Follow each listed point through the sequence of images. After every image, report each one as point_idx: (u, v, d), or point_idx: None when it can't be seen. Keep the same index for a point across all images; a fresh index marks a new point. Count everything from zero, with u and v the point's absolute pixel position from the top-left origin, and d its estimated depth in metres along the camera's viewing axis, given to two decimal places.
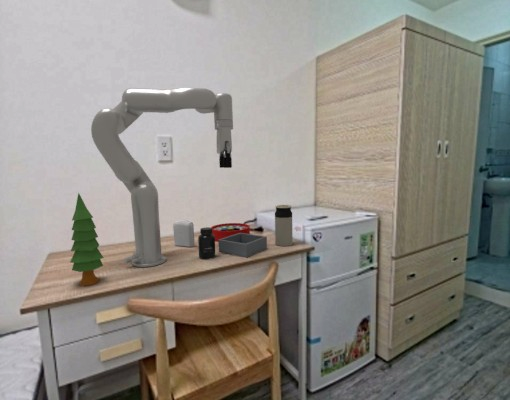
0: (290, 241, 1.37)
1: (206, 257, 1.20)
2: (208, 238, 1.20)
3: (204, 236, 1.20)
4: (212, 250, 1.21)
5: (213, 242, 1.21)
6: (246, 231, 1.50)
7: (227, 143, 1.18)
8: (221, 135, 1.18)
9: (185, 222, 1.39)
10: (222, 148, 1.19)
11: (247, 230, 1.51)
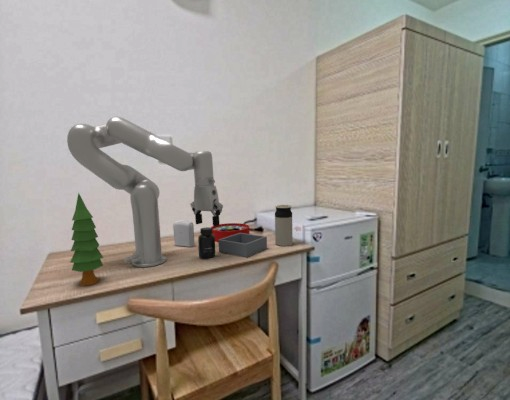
0: (290, 241, 1.37)
1: (206, 257, 1.20)
2: (208, 238, 1.20)
3: (204, 236, 1.20)
4: (212, 250, 1.21)
5: (213, 242, 1.21)
6: (246, 231, 1.50)
7: None
8: None
9: (185, 222, 1.39)
10: None
11: (247, 230, 1.50)
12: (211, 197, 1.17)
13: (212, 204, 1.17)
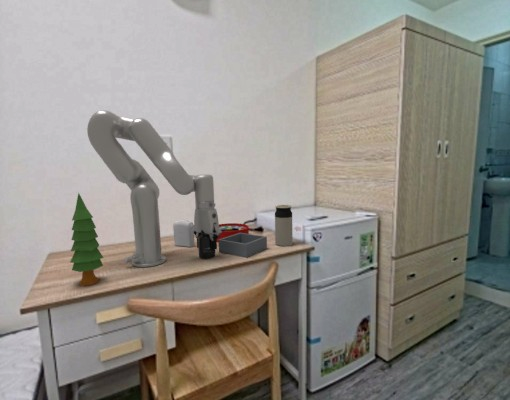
0: (290, 241, 1.37)
1: (206, 257, 1.20)
2: (208, 238, 1.20)
3: (204, 235, 1.20)
4: None
5: None
6: (245, 231, 1.49)
7: None
8: None
9: (185, 222, 1.39)
10: None
11: (246, 230, 1.50)
12: (211, 220, 1.18)
13: (212, 229, 1.18)
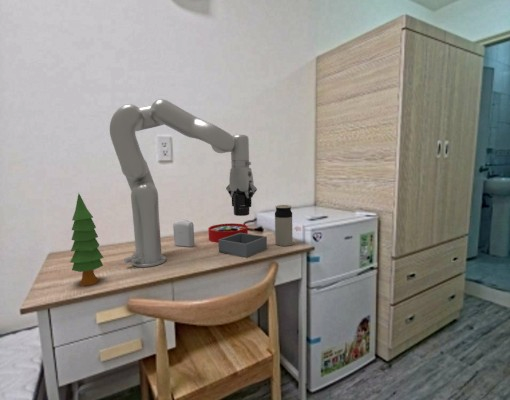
0: (290, 241, 1.37)
1: (241, 214, 1.26)
2: (244, 195, 1.26)
3: (240, 193, 1.26)
4: None
5: None
6: (244, 231, 1.49)
7: None
8: None
9: (185, 222, 1.39)
10: None
11: (245, 230, 1.50)
12: (247, 178, 1.24)
13: (248, 186, 1.24)
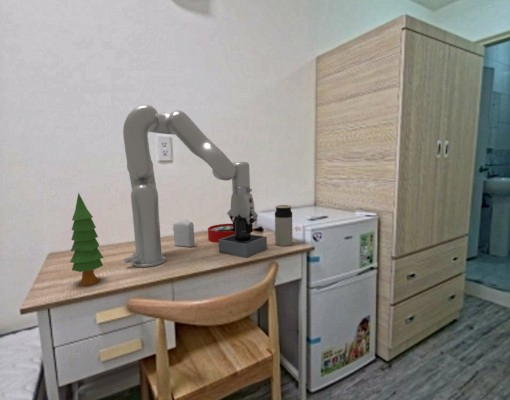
0: (290, 241, 1.37)
1: (243, 239, 1.28)
2: (245, 221, 1.27)
3: (241, 219, 1.28)
4: None
5: None
6: None
7: None
8: None
9: (185, 222, 1.39)
10: None
11: None
12: (248, 205, 1.25)
13: (249, 213, 1.26)
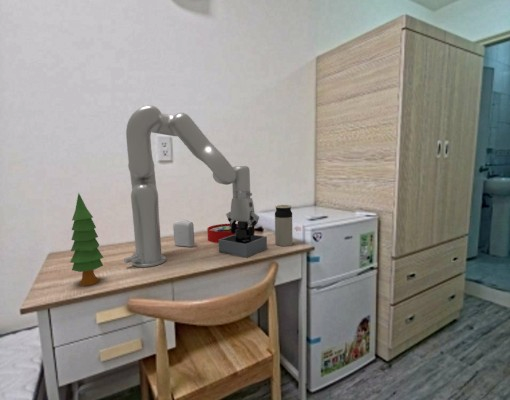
0: (290, 241, 1.37)
1: None
2: (246, 230, 1.27)
3: (242, 228, 1.28)
4: (248, 242, 1.29)
5: None
6: None
7: None
8: None
9: (185, 222, 1.39)
10: None
11: None
12: (248, 209, 1.25)
13: (249, 215, 1.26)
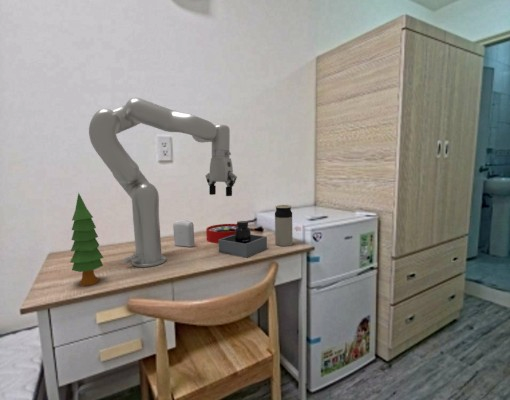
0: (290, 241, 1.37)
1: None
2: (245, 230, 1.27)
3: (241, 228, 1.28)
4: (248, 242, 1.29)
5: (249, 234, 1.29)
6: None
7: None
8: None
9: (185, 222, 1.39)
10: None
11: None
12: (226, 168, 1.24)
13: (226, 175, 1.24)
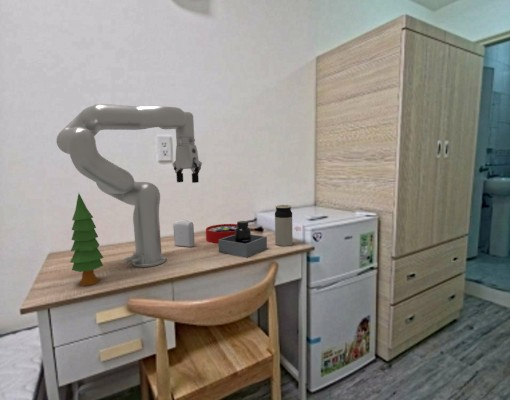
0: (290, 241, 1.37)
1: None
2: (246, 230, 1.27)
3: (242, 228, 1.28)
4: (248, 242, 1.29)
5: (249, 234, 1.29)
6: None
7: None
8: None
9: (185, 222, 1.39)
10: None
11: None
12: (191, 155, 1.25)
13: (192, 161, 1.25)
